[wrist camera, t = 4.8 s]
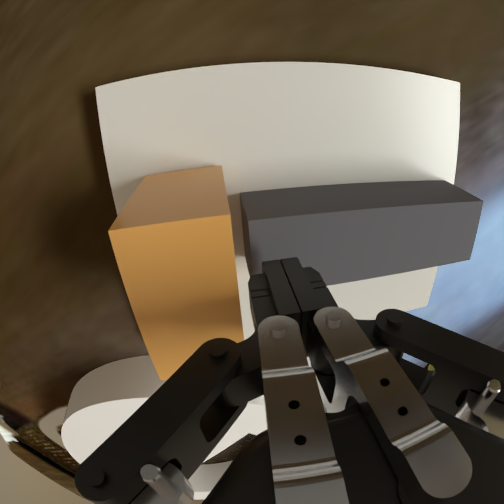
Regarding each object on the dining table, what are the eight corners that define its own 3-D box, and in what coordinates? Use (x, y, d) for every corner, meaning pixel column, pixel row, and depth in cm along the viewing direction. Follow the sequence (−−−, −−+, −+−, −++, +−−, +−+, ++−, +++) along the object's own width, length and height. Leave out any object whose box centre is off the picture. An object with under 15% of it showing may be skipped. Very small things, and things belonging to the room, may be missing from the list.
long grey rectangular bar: (239, 192, 17) (248, 220, 13) (444, 180, 18) (483, 201, 15) (245, 256, 19) (254, 296, 15) (436, 232, 20) (469, 259, 16)
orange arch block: (145, 175, 15) (108, 230, 9) (221, 165, 16) (230, 214, 10) (170, 292, 19) (160, 380, 13) (234, 284, 19) (248, 371, 13)
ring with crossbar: (312, 324, 25) (330, 366, 21) (310, 455, 38) (318, 481, 34) (24, 361, 23) (9, 396, 19) (132, 474, 37) (130, 499, 33)
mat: (104, 87, 14) (95, 87, 13) (446, 81, 16) (459, 82, 15) (160, 336, 23) (158, 350, 22) (418, 295, 25) (426, 305, 23)
